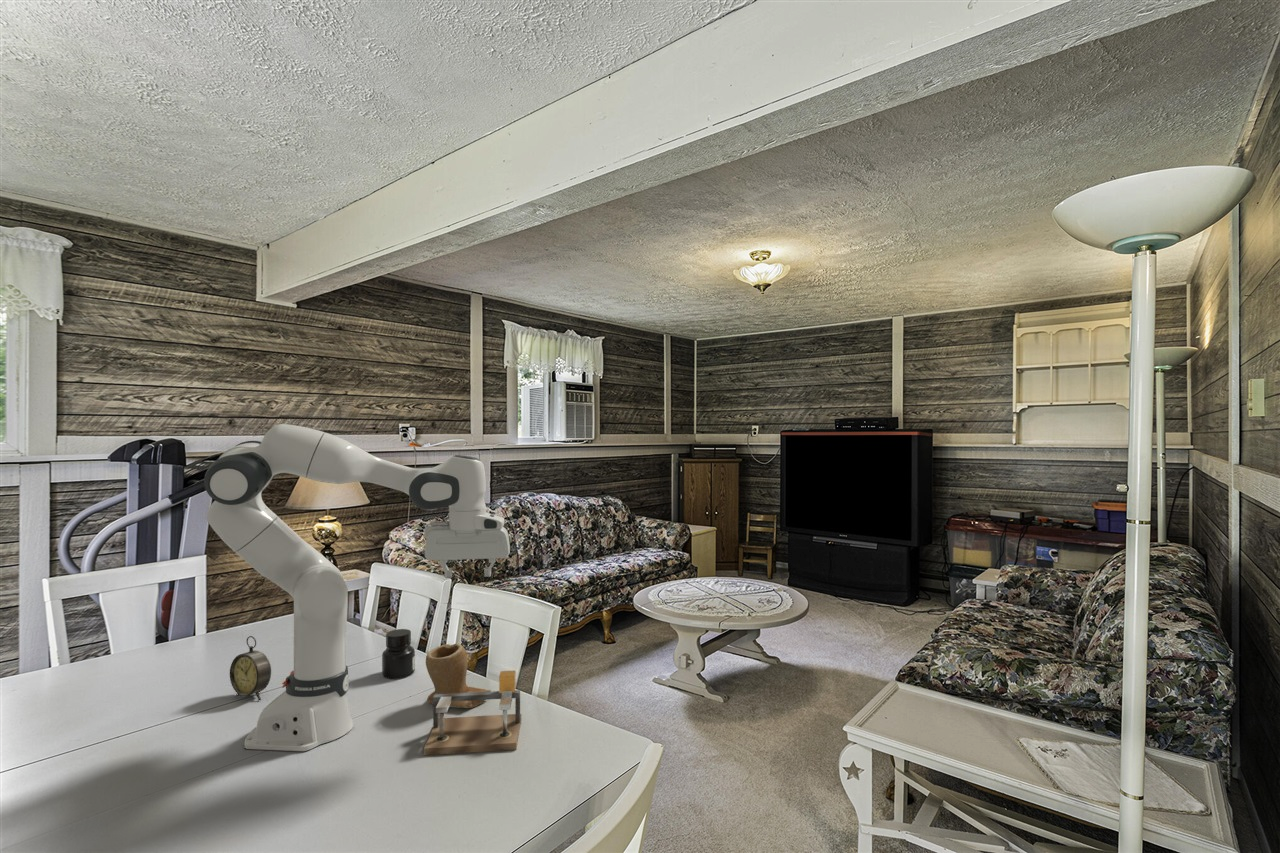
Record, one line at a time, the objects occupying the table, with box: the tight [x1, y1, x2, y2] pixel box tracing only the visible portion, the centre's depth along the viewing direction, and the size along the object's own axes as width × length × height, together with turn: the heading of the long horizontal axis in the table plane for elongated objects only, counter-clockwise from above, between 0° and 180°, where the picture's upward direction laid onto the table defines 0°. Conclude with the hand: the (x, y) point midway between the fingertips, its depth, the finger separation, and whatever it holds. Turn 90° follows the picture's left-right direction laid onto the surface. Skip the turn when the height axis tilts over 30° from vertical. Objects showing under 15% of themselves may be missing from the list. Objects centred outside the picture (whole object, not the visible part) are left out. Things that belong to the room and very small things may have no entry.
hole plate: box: [423, 689, 522, 756], centre depth 143 cm, size 20×14×9 cm
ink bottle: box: [381, 628, 416, 680], centre depth 180 cm, size 10×9×12 cm
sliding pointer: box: [498, 670, 517, 734], centre depth 145 cm, size 4×8×11 cm, turn 6°
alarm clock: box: [229, 635, 272, 701], centre depth 165 cm, size 11×5×16 cm, turn 68°
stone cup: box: [425, 643, 492, 709], centre depth 160 cm, size 15×12×15 cm
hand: (468, 576), depth 152 cm, fingers open, 8 cm apart
